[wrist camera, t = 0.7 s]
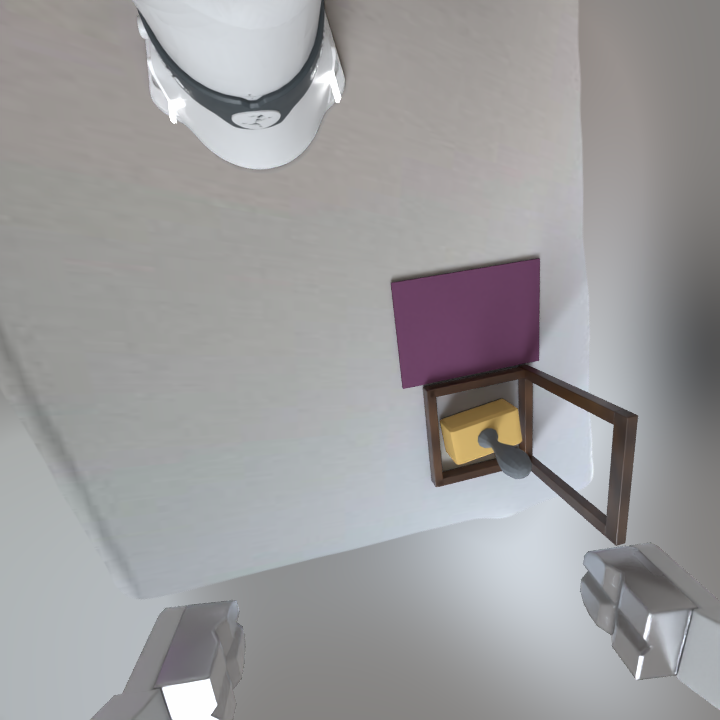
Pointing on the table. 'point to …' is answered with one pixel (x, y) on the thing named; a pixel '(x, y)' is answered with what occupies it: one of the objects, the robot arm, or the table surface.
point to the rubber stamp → (487, 437)
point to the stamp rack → (527, 375)
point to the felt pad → (467, 321)
